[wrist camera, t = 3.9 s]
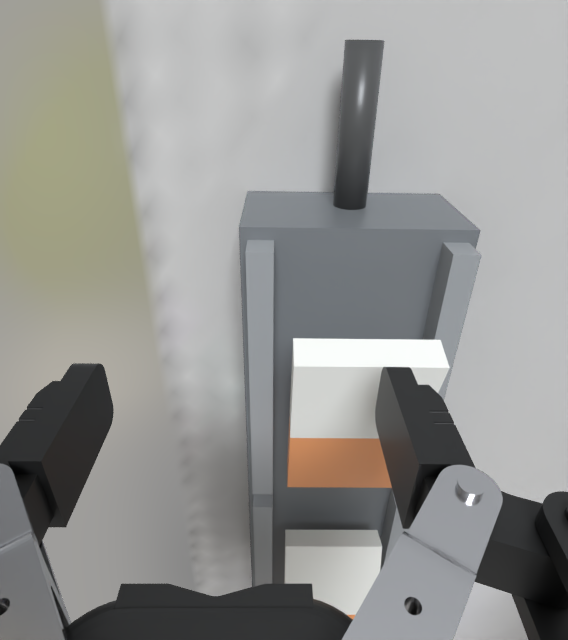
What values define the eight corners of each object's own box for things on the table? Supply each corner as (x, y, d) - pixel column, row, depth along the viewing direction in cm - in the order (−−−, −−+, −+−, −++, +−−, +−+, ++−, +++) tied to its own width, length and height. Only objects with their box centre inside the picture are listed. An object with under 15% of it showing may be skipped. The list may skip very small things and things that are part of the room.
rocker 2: (285, 529, 24) (285, 546, 23) (377, 529, 24) (382, 546, 23) (283, 655, 27) (283, 676, 26) (366, 655, 27) (370, 676, 26)
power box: (243, 39, 18) (228, 33, 12) (468, 43, 18) (547, 40, 13) (256, 548, 35) (252, 637, 30) (370, 549, 35) (386, 637, 30)
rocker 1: (293, 338, 15) (293, 366, 14) (440, 339, 15) (449, 367, 14) (287, 462, 22) (287, 487, 21) (390, 463, 22) (394, 487, 21)
